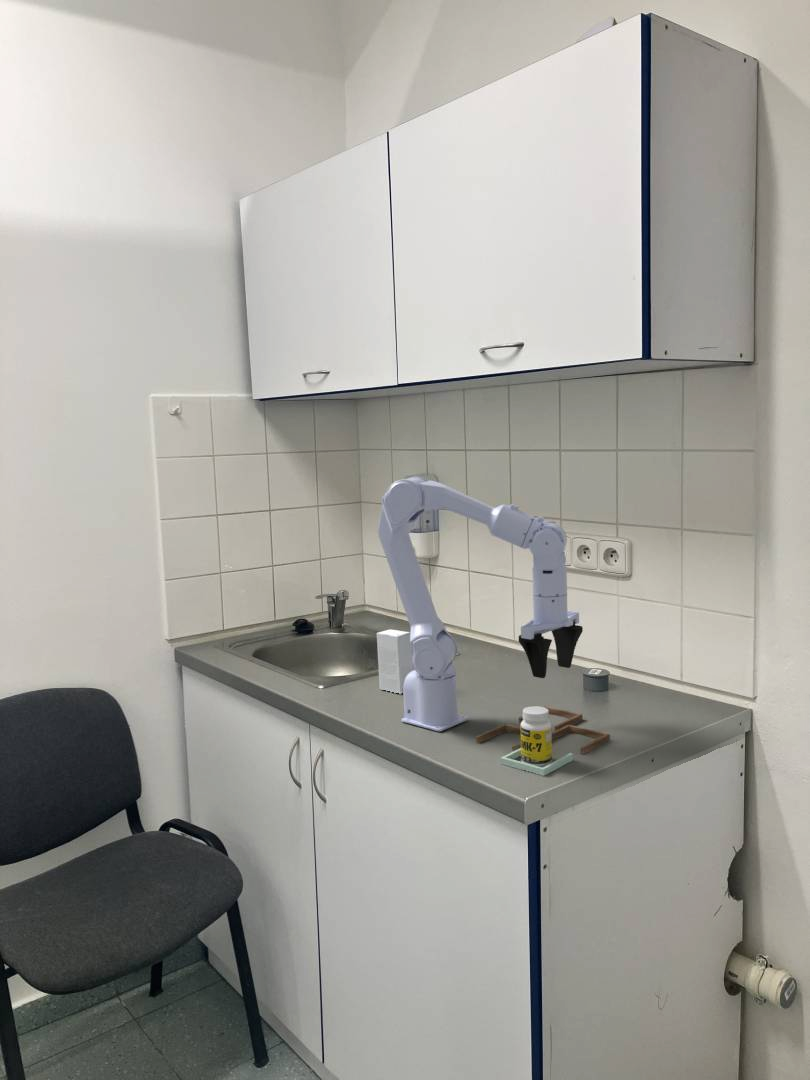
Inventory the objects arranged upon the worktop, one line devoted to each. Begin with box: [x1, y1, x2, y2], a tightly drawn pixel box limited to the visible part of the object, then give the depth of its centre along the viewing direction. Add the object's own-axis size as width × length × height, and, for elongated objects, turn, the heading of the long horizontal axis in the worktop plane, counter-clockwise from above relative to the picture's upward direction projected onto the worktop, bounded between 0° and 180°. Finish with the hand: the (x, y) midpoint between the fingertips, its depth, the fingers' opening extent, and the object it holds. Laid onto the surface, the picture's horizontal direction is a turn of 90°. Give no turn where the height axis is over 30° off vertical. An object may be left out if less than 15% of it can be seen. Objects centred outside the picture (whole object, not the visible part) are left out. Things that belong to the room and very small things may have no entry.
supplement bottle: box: [520, 705, 553, 768], centre depth 137 cm, size 5×5×8 cm
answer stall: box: [500, 748, 574, 777], centre depth 138 cm, size 8×8×1 cm
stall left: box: [518, 705, 583, 731], centre depth 156 cm, size 8×8×1 cm
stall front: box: [552, 725, 611, 755], centre depth 146 cm, size 8×8×1 cm
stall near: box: [475, 723, 521, 752], centre depth 147 cm, size 8×8×1 cm
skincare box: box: [376, 629, 414, 695], centre depth 179 cm, size 6×4×12 cm
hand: (552, 671), depth 152 cm, fingers open, 7 cm apart
